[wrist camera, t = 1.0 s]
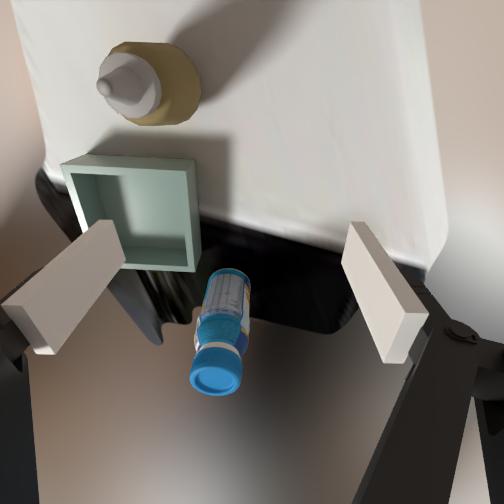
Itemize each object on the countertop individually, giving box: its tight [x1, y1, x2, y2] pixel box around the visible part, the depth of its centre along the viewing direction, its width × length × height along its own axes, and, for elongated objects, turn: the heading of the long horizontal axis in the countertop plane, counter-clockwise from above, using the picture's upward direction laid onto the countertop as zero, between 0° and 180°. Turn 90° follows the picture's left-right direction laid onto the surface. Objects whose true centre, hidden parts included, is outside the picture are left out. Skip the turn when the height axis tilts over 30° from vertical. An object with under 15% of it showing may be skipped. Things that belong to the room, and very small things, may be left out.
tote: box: [60, 154, 202, 272], centre depth 40 cm, size 16×16×6 cm
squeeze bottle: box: [97, 42, 201, 126], centre depth 26 cm, size 8×8×18 cm
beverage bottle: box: [190, 268, 251, 396], centre depth 42 cm, size 8×8×20 cm
